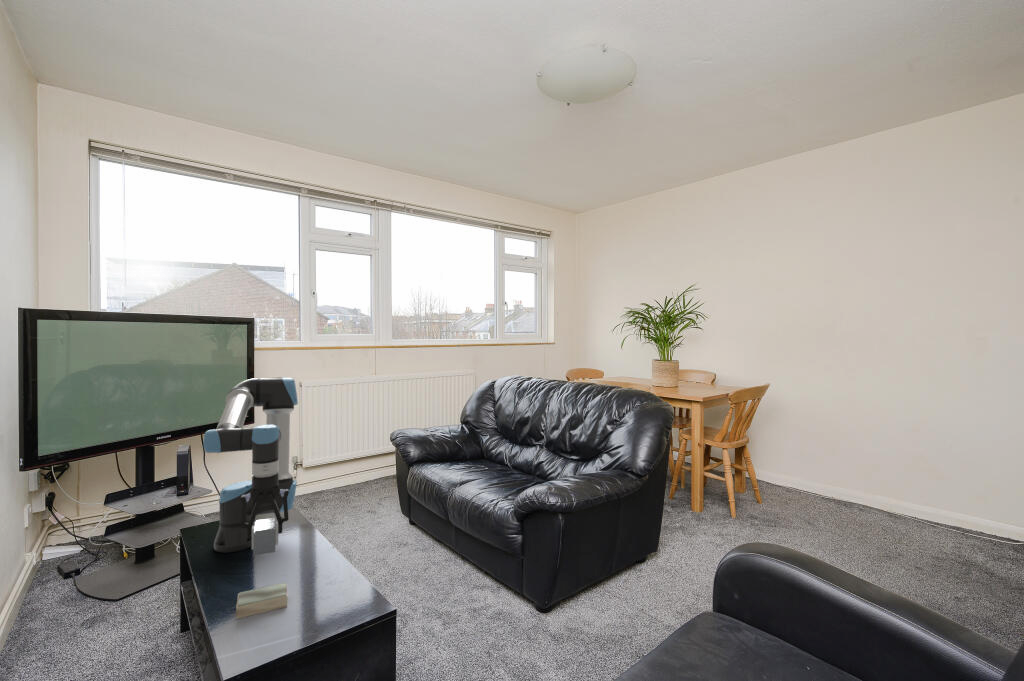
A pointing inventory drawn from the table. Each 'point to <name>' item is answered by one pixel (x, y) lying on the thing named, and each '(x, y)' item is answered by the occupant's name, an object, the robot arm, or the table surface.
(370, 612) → the table surface
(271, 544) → the housing
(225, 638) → the table surface
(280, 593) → the stand
